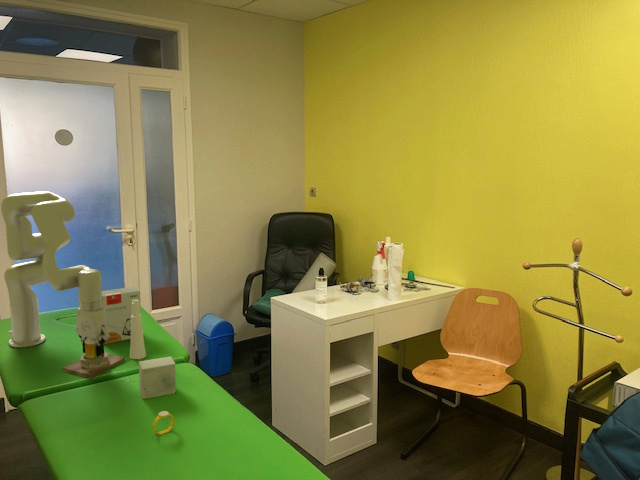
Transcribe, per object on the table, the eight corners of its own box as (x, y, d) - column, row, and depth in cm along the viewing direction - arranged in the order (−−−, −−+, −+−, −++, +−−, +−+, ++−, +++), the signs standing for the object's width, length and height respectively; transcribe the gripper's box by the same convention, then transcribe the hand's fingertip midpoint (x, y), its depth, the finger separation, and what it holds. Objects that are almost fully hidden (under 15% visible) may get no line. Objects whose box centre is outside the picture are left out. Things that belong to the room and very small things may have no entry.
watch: (170, 427, 151) (171, 408, 150) (175, 432, 149) (176, 412, 148) (151, 434, 147) (151, 413, 146) (155, 438, 145) (156, 418, 144)
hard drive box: (103, 345, 206) (100, 296, 203) (97, 339, 212) (94, 291, 208) (142, 336, 216) (140, 290, 212) (135, 331, 222) (133, 285, 218)
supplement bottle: (96, 362, 185) (94, 336, 183) (82, 360, 186) (80, 334, 184) (105, 356, 190) (103, 330, 188) (91, 354, 191) (90, 329, 189)
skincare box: (142, 400, 165) (141, 368, 163) (139, 391, 171) (138, 360, 169) (176, 393, 170) (175, 363, 168) (172, 385, 176) (171, 355, 174)
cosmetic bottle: (149, 355, 198) (147, 299, 194) (138, 361, 193) (135, 303, 189) (137, 352, 201) (135, 296, 197) (125, 357, 196) (123, 301, 191)
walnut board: (62, 371, 183) (62, 361, 183) (98, 354, 198) (97, 345, 197) (91, 378, 179) (90, 368, 178) (125, 360, 193) (124, 351, 192)
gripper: (63, 304, 184) (67, 352, 187) (101, 311, 177) (104, 361, 181) (81, 298, 191) (83, 345, 194) (117, 305, 184) (120, 354, 188)
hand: (93, 352), depth 187 cm, fingers closed on supplement bottle, 5 cm apart
